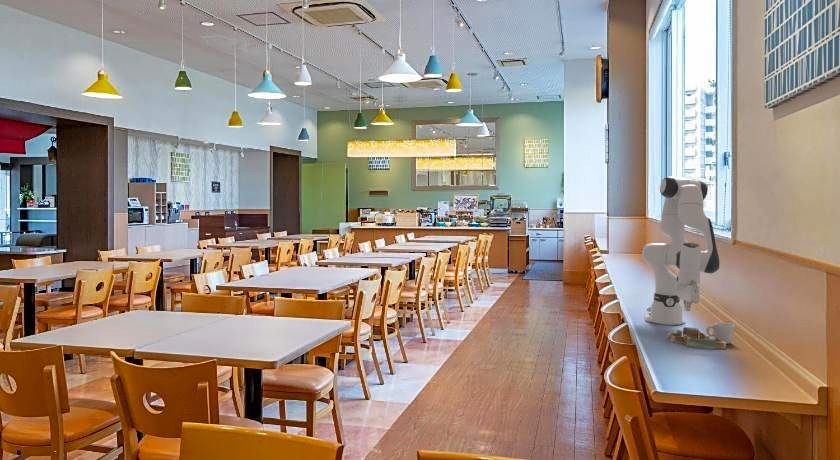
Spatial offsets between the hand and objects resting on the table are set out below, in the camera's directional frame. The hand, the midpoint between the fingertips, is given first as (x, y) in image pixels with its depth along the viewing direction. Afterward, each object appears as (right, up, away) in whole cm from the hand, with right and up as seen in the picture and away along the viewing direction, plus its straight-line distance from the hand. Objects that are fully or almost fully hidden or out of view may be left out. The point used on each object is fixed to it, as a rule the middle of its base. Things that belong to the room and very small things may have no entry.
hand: (687, 310), depth 286 cm
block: (-1, -12, -6) cm, 13 cm away
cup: (+10, -13, -9) cm, 19 cm away
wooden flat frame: (-2, -12, -13) cm, 18 cm away
